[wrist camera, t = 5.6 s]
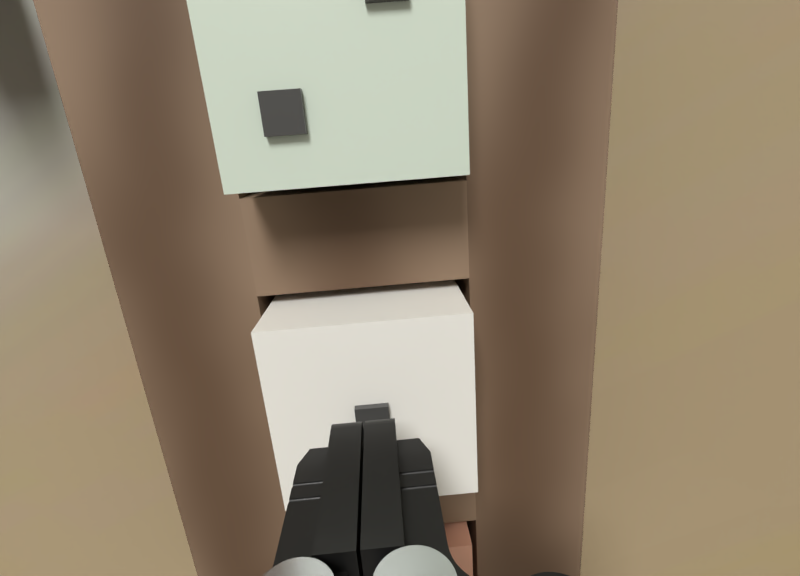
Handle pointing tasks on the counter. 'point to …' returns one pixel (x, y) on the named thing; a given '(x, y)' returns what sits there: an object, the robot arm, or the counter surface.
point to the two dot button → (333, 90)
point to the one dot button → (372, 372)
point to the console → (355, 263)
